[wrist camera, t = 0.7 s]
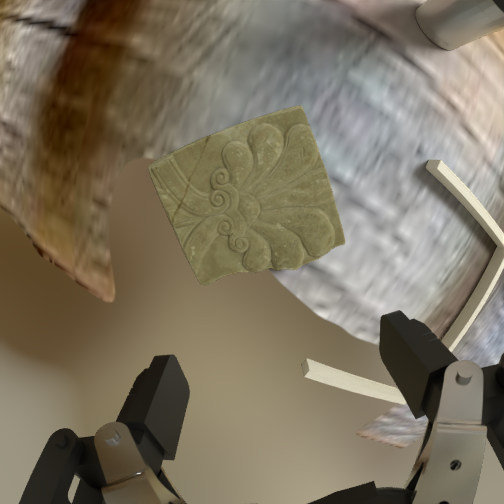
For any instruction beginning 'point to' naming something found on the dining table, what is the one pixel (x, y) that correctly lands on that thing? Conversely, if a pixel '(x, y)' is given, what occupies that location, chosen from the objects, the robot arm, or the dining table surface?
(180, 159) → the decorative tile
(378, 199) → the dining table surface
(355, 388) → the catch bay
